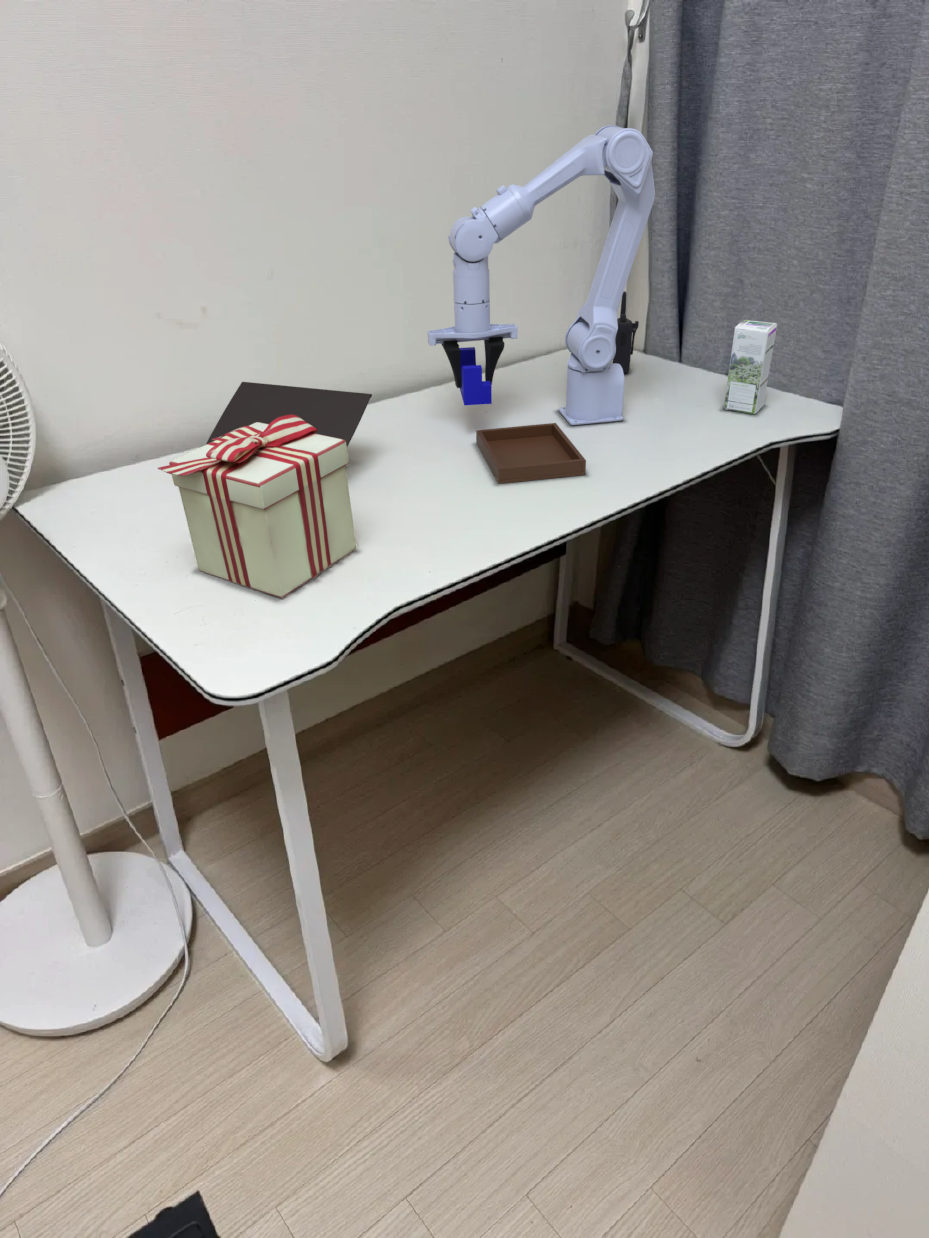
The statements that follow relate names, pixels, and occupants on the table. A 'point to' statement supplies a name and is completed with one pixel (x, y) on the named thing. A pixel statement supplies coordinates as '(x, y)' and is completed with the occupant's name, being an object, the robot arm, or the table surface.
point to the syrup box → (749, 366)
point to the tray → (529, 453)
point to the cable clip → (473, 380)
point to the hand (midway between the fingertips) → (473, 384)
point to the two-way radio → (624, 338)
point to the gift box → (267, 504)
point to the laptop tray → (294, 409)
